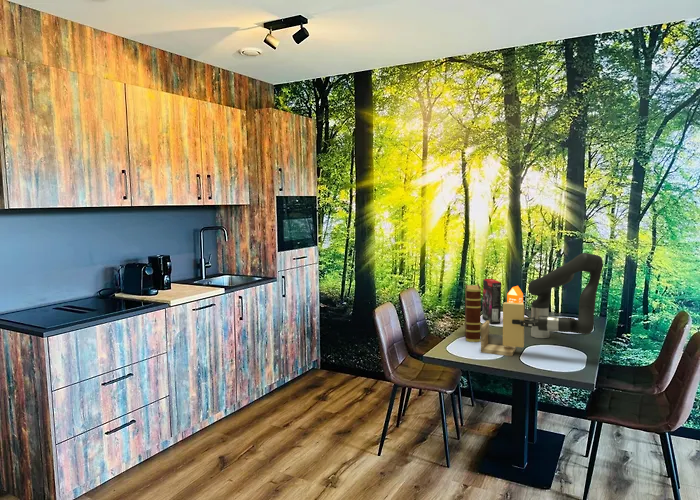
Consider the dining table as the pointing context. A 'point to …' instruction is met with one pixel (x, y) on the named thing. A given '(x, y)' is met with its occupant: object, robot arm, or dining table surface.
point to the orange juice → (515, 295)
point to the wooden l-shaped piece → (491, 347)
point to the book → (513, 332)
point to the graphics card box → (491, 301)
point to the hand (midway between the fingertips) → (513, 320)
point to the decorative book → (472, 312)
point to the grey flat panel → (495, 339)
